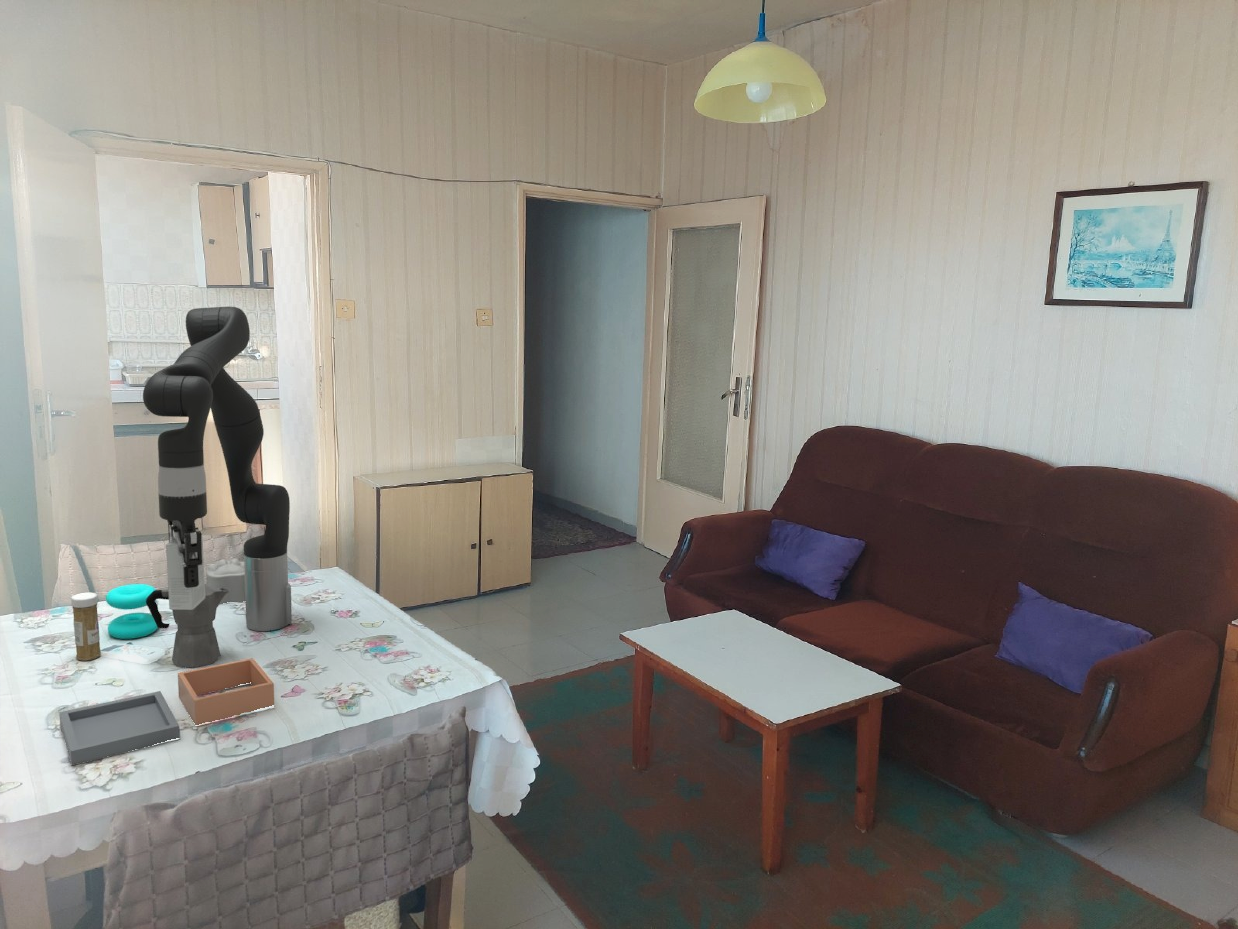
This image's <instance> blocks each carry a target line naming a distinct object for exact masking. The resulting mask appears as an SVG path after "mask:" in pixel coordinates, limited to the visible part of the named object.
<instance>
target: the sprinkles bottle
mask: <svg viewBox="0 0 1238 929" xmlns="http://www.w3.org/2000/svg"><path fill="white" fill-rule="evenodd" d="M71 606H72V612H73V631H74V643H75V649H76V650H75V651H76V652H75V653H76V655H75V658H76V660H78V661H82V662H85V661H93V660H95V659H97V658H99V657H101V656H102V651H101V645H100V644H101V643H100V638H101V637H100V626H99V616H98V594H97V593H95V592H82V593H81V592H80V593H77V594H74V595H72V596H71Z"/></svg>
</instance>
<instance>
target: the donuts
mask: <svg viewBox="0 0 1238 929" xmlns="http://www.w3.org/2000/svg"><path fill="white" fill-rule="evenodd" d="M154 590H157V588H155V587H154V586H152V585H149V584H145V583H144V584H143V583H132V584H126V585H125V584H124V585H122V586H121V585H120V586H118V587H115V588H113V589H111V590H109V591H108V592H107V594H106V596H105V601H106V603H107V605H109V606H110V607H111V608H115V609H117V610H124V611H125V610H126V611H127V610H135V609H136V610H137V609H141V608H144V607H148V606H147V604H146V599H147V597H148V596H149V595H150V594H151V593H152V592H153V591H154ZM158 629H159V628H158V627H157V625H156V623H155V621H154V618H153V616H152V614H151V613H148V612H130V613H125V614H122V615H120V616H117V617H116V618H114V619H112V620H111V621H110V622H109V624H108V626H107V632H108V634H109V635H110V636H111V637H113V638H115V639H120V640H121V639H123V640H124V639H125V640H131V639H139V638H143V637H146V636H149V635H151V634H153V633H154V632H155V631H157V630H158Z"/></svg>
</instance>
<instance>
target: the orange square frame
mask: <svg viewBox="0 0 1238 929" xmlns="http://www.w3.org/2000/svg"><path fill="white" fill-rule="evenodd" d="M250 682H251V684H252V685H253V686H252V685H251V684H250V685H251V686H246V687H241V688H238V689H233V690H228V691H224V690H223V689H225V688H230V689H232V688H231V687H234V688H236V687H235V686H238V685H240V684H246V683H250ZM177 685H178V686H177V687H178V689H177V690H178V698H179V701H180V702H181V704H182V706H183V705H184V706H183V707H184V709H185V711H186V713H187V712H188V713H187V714H188V716H189V715H190V716H189V718H190V717H191V718H190V719H192V720H193V721H192V720H191V721H192V723H193V722H194V723H195V725H199V724H202V723H205V722H212V721H215V720H220V719H225V718H228V717H232V716H234V715H240V714H241V713H244V712H251V711H254V710H257V709H260V708H265V707H269V706H272V705H274V706H275V683H274V682H273V680H272V679H271V678H270V677H269V676H268V675H267V673H266V672H265V671H264V670H263V668H262V667H261V666H260V665H259V663H258V662H257V661H256V660H255V659H254V658H253V657H251V658H246V659H245V658H244V659H241V660H240V659H239V660H237V661H230V662H225V663H222V664H215V665H210V666H204V667H199V668H196V669H195V668H194V669H191V670H186V671H182V672H177ZM219 690H220V691H224V692H219ZM225 690H226V689H225ZM213 691H216V692H218V693H215V694H211V695H206V694H210V693H209V692H211V693H214V692H213ZM202 695H206V696H202ZM198 696H201V697H198ZM194 723H193V724H194ZM195 725H194V726H195Z"/></svg>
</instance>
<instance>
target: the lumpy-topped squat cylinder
mask: <svg viewBox="0 0 1238 929" xmlns="http://www.w3.org/2000/svg"><path fill="white" fill-rule="evenodd" d="M205 571H206V573H205V574H206V584H208V585H214V586H215V587H220V588H223V589H227V590H228V591H229V593H227V594H225V596H224V597H223V598H222V600H221V602H220V603H219V605H224V604H223V603H226V604H228V603H227V602H238V603H244V602H243V601H245V571H244V561H240V560H239V559H238V558H235V557H234V558H232V559H230V560H227V559H223V558H222V559H220V560H219V561H218V562H216V563H209V565H207V569H206V570H205Z"/></svg>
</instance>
